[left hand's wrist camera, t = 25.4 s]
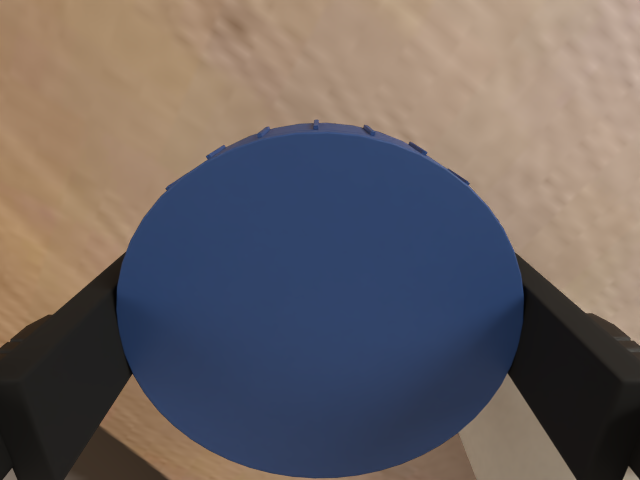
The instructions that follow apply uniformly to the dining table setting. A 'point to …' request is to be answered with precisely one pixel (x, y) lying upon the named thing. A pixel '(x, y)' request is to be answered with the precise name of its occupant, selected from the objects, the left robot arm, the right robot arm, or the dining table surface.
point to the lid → (320, 302)
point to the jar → (513, 442)
